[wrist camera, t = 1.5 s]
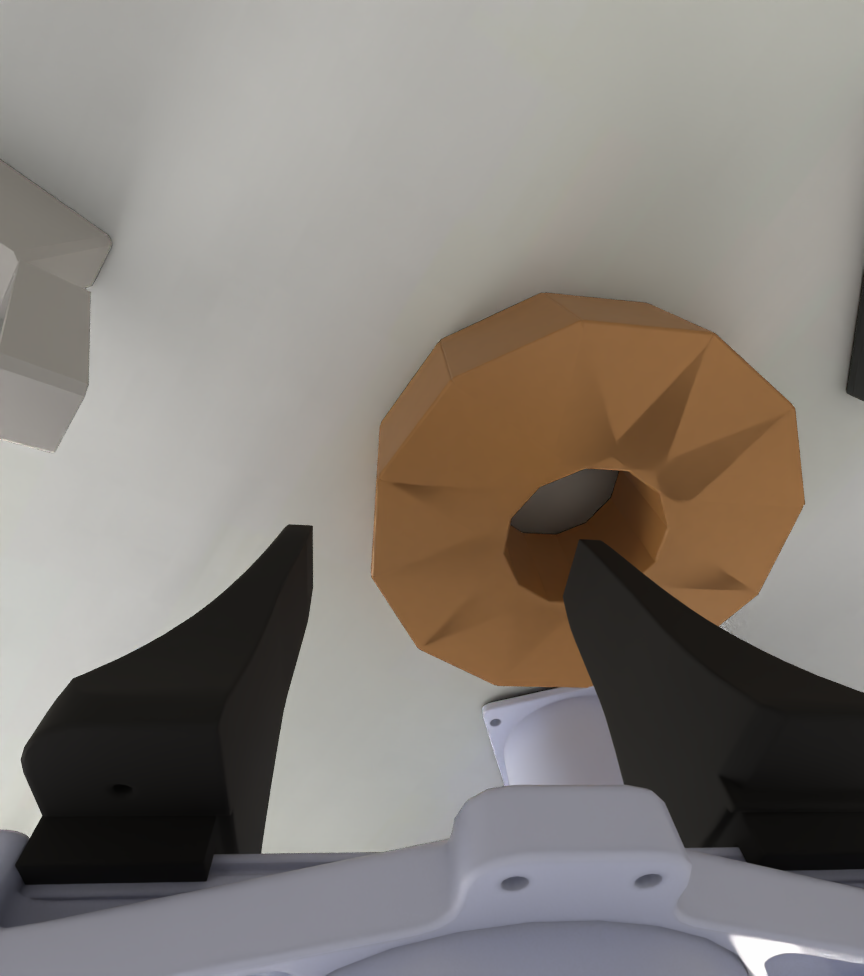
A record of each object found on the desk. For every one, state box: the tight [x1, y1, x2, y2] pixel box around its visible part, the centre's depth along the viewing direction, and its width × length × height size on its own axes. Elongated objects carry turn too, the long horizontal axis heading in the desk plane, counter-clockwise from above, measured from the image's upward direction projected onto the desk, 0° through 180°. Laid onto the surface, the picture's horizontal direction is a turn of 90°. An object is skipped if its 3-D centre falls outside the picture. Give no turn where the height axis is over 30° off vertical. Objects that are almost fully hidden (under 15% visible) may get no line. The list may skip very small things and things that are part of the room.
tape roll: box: [371, 293, 805, 688], centre depth 18 cm, size 13×13×4 cm
